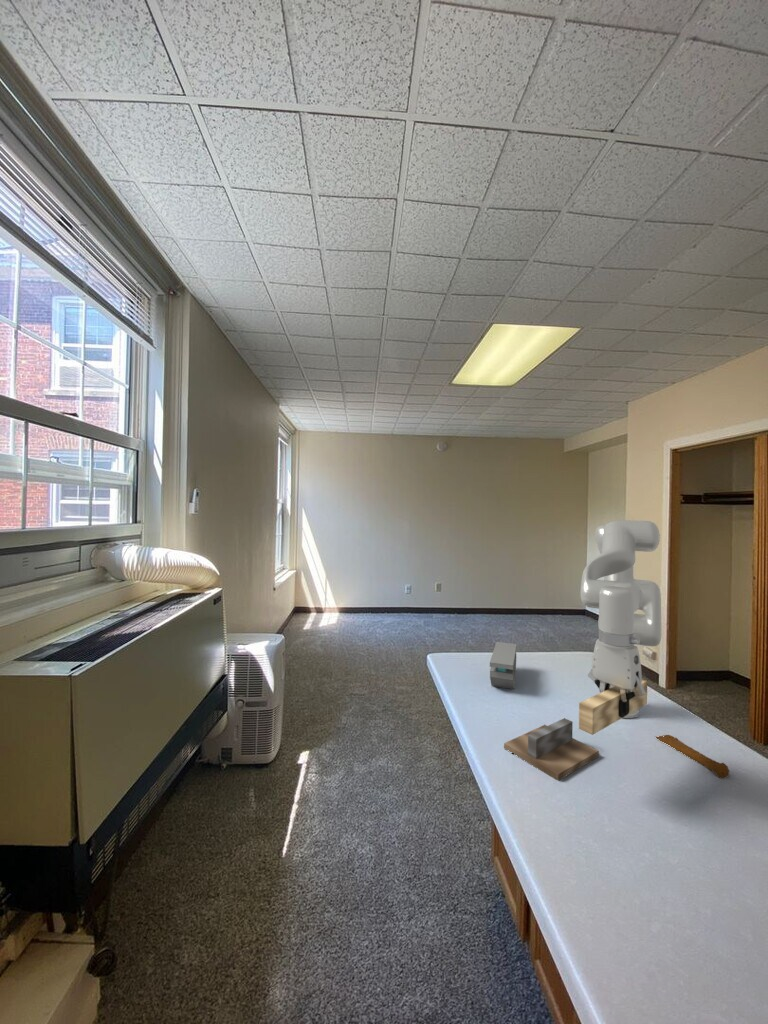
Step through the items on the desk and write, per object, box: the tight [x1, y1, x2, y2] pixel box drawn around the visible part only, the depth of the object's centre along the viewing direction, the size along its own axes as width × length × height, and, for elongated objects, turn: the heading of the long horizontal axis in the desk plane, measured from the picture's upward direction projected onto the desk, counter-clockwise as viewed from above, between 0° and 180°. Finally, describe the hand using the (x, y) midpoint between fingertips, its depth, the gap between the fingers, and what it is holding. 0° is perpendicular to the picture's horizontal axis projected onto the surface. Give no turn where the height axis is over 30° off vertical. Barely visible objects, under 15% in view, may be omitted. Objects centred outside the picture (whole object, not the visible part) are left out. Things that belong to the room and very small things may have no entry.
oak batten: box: [578, 678, 648, 736], centre depth 103 cm, size 26×3×6 cm, turn 124°
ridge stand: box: [503, 717, 600, 781], centre depth 112 cm, size 18×16×6 cm
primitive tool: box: [655, 734, 730, 778], centre depth 111 cm, size 19×6×4 cm, turn 12°
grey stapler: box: [489, 641, 517, 690], centre depth 158 cm, size 25×8×11 cm, turn 160°
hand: (614, 711), depth 103 cm, fingers closed on oak batten, 3 cm apart
